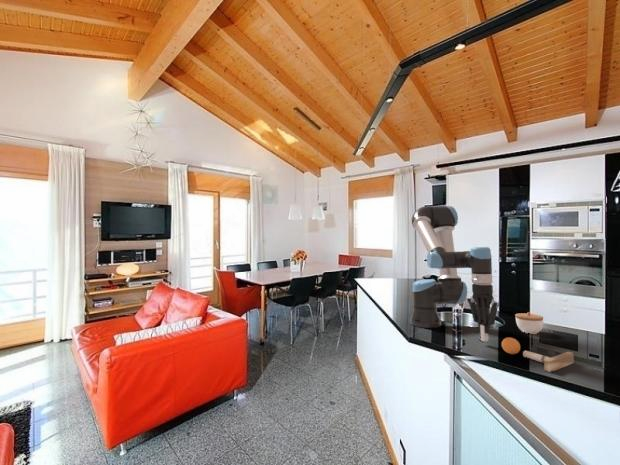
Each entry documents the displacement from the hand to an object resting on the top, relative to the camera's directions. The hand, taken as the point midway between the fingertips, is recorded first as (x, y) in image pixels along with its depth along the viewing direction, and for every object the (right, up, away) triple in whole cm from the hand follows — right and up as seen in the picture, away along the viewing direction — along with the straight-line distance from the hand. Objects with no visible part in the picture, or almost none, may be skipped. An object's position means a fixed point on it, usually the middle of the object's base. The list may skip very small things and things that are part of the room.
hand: (484, 340), depth 125 cm
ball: (+4, +2, -10) cm, 11 cm away
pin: (+7, 0, -14) cm, 15 cm away
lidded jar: (+31, -2, +17) cm, 35 cm away
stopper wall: (+12, -1, -23) cm, 26 cm away
